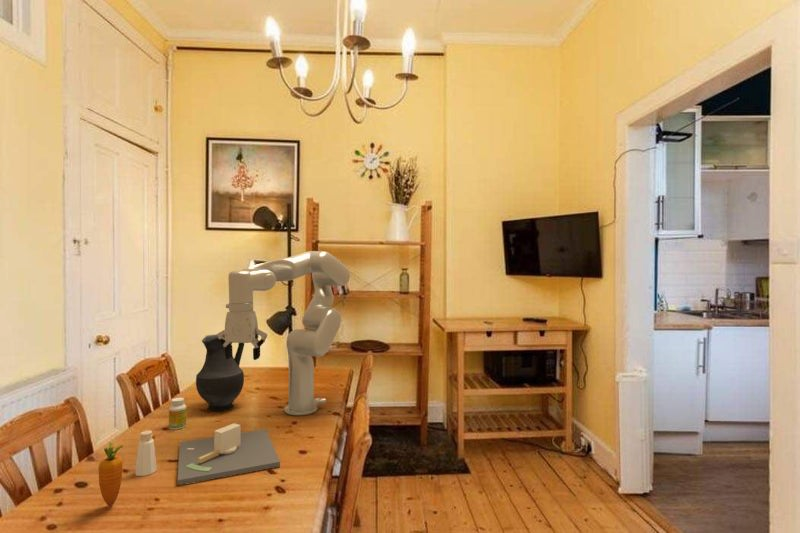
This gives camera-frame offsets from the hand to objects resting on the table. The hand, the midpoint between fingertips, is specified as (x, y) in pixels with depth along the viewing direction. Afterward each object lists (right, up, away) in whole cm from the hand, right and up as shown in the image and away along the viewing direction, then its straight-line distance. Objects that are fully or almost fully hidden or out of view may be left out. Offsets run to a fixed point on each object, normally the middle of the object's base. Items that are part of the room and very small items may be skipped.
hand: (242, 358), depth 147 cm
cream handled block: (0, -24, -19) cm, 31 cm away
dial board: (+1, -26, -16) cm, 31 cm away
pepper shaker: (-17, -26, -26) cm, 41 cm away
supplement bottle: (-25, -25, +6) cm, 36 cm away
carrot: (-16, -26, -43) cm, 53 cm away
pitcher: (-17, -25, +27) cm, 41 cm away
